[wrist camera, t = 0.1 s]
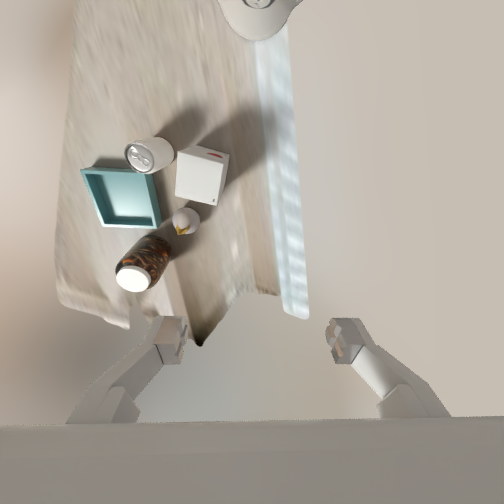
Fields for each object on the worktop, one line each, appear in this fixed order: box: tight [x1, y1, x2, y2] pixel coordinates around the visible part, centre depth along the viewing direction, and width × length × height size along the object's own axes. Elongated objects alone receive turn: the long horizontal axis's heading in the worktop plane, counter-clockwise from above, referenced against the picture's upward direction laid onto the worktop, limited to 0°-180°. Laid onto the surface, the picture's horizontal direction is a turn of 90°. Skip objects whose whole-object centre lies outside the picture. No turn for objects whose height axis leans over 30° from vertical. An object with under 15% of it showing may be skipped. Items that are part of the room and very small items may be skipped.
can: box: [124, 137, 174, 174], centre depth 43 cm, size 6×6×12 cm
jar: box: [115, 236, 172, 292], centre depth 58 cm, size 12×12×15 cm
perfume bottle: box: [173, 207, 200, 235], centre depth 52 cm, size 8×10×12 cm
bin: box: [80, 167, 162, 229], centre depth 52 cm, size 15×15×4 cm
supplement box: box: [175, 145, 230, 206], centre depth 44 cm, size 9×9×15 cm
